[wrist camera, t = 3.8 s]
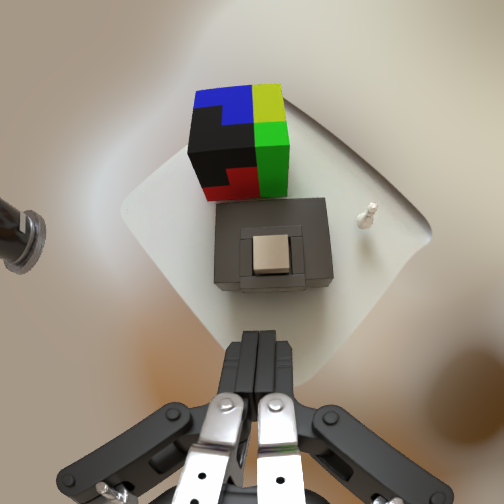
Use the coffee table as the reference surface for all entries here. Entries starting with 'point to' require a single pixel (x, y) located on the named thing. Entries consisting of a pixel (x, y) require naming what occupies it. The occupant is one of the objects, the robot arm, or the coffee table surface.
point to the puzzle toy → (240, 142)
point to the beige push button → (271, 254)
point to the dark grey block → (265, 224)
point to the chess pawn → (366, 217)
